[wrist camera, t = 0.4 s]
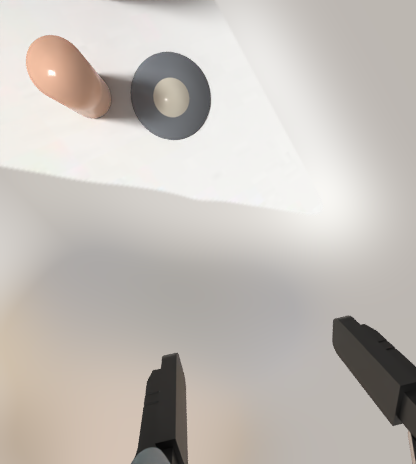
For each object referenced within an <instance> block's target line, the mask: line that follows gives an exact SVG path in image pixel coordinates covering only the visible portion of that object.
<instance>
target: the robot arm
mask: <svg viewBox="0 0 416 464" xmlns="http://www.w3.org/2000/svg"><path fill="white" fill-rule="evenodd" d="M333 346H334V349H335V351H336V353H337V354H338V356H339V357H340V358H341V360H342V361H343V362H344V363H345V365H346V366H347V367H348V368H349V370H350V371H351V372H352V374H353V375H354V376H355V378H356V379H357V380H358V382H359V383H360V384H361V385H362V387H363V388H364V389H365V390H366V392H367V393H368V395H369V396H370V397H371V398H372V400H373V401H374V402H375V404H376V405H377V406H378V407H379V409H380V410H381V411H382V413H383V414H384V415H385V416H386V418H387V419H388V420H389V422H390V423H391V424H392V426H394V425H398V424H402V423H403V424H404V425H405V427H406V428H407V429H408V438H409V445H410V451H411V457H412V464H416V367H415V366H414V365H413V364H412V363H411V362H410V361H409V360H408V359H407V358H406V357H405V356H404V355H402V354H401V353H400V352H399V351H398V350H397V349H395V348H394V346H393V345H392V344H390V343H389V342H387V340H386V339H385V338H384V337H383V336H382V335H381V334H380V333H378V332H377V331H376V330H374V329H372V328H371V327H369V326H367V325H365V324H362V325H360V324H359V323H358V322H357V321H356V320H354V318H353V317H351V316H345V317H340V318H336V319H334V320H333ZM186 415H187V413H186V384H185V377H184V372H183V369H182V365H181V362H180V358H179V354H178V353H174V354H169V355H165V356H163V357H162V365H161V369H158V370H153V371H152V373H151V375H150V377H149V379H148V381H147V386H146V396H145V401H144V408H143V415H142V422H141V429H140V436H139V443H138V449H137V453H136V456H135V458H134V460H133V461H132V463H131V464H188V451H187V416H186Z"/></svg>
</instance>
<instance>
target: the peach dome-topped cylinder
mask: <svg viewBox="0 0 416 464" xmlns="http://www.w3.org/2000/svg"><path fill="white" fill-rule="evenodd" d="M26 66H27V71H28V74H29V76H30V78H31V80H32V82H33V83H34V85H35V86H36V87H37V88H38V89H39V90H40V91H41V92H42V93H44V94H45V95H47V96H49V97H50V98H52V99H54V100H56V101H57V102H59V103H61V104H63V105H65V106H66V107H68V108H70V109H72V110H73V111H75V112H77V113H79V114H81V115H82V116H84V117H87V118H99V117H101V116H103V115H104V114H106V113H107V111H108V110H109V108H110V105H111V93H110V90H109V88H108V86H107V84H106V83H105V82H104V80H103V79H102V78H101V77H100V76H99V74H98V73H97V72H96V71H95V70H94V68H93V67H92V66H91V65H90V64H89V62H88V61H87V60H86V59H85V58H84V56H83V55H82V54H81V53H80V52H79V50H78V49H77V48H76V47H75V46H74V45H73V44H72V43H70V42H69V41H68V40H66V39H64V38H62V37H59V36H54V35H47V36H42V37H40V38H38V39H36V40H35V41H34V42H33V43H32V44H31V46H30V47H29V49H28V52H27V56H26Z"/></svg>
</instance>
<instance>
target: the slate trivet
mask: <svg viewBox="0 0 416 464" xmlns="http://www.w3.org/2000/svg"><path fill="white" fill-rule="evenodd" d="M131 99H132V104H133V108H134V111H135V113H136V115H137V117H138V119H139V120H140V122H141V123H142V124H143V125H144V126H145V128H146V129H148V130H149V131H150V132H151V133H153V134H154V135H156V136H159V137H161V138H164V139H169V140H178V139H183V138H186V137H189V136H190V135H192V134H194V133H195V132H196V131H197V130H198V129H199V128H200V127H201V126H202V125H203V123H204V121H205V120H206V117H207V115H208V112H209V107H210V91H209V86H208V83H207V80H206V78H205V76H204V74H203V73H202V71H201V70H200V68H199V67H198V66H197V65H196V64H195V63H194V62H193V61H191V60H190V59H189V58H187V57H185V56H183V55H181V54H178V53H174V52H162V53H157V54H155V55H152V56H151V57H149V58H147V59H146V60H145V61H144V62H143V63H142V64H141V65H140V66H139V68H138V69H137V71H136V73H135V75H134V78H133V81H132V85H131Z"/></svg>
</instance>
